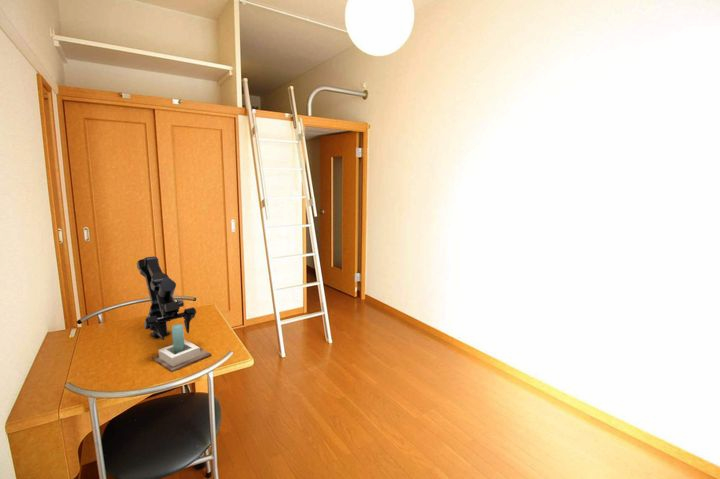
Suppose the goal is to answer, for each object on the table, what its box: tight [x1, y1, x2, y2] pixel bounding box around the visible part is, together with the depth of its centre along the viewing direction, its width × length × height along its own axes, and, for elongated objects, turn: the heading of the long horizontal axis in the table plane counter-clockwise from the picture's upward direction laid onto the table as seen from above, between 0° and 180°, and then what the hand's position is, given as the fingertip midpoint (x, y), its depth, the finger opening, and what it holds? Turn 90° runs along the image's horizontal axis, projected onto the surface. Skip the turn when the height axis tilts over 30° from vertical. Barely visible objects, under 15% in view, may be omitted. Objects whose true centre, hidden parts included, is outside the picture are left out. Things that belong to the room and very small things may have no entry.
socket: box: [157, 339, 201, 366], centre depth 142 cm, size 11×11×4 cm
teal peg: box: [171, 323, 185, 354], centre depth 141 cm, size 4×4×13 cm
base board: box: [151, 347, 212, 373], centre depth 143 cm, size 16×16×1 cm
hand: (176, 336), depth 143 cm, fingers open, 9 cm apart
